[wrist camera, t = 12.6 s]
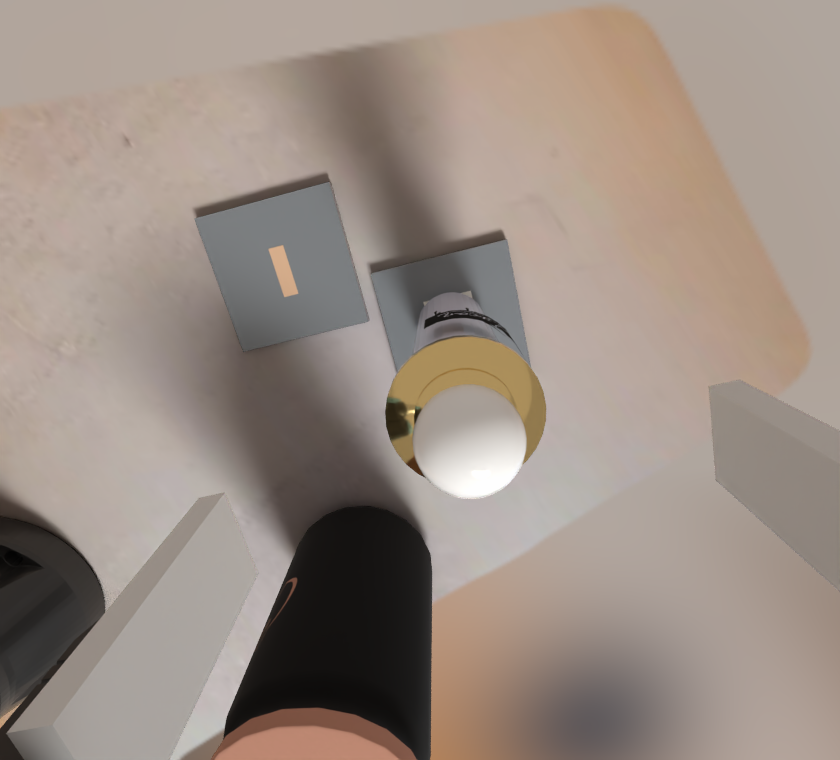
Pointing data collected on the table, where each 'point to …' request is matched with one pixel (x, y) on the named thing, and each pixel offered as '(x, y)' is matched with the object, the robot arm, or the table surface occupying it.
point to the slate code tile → (455, 272)
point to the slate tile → (284, 267)
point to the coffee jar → (342, 649)
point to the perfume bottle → (464, 402)
